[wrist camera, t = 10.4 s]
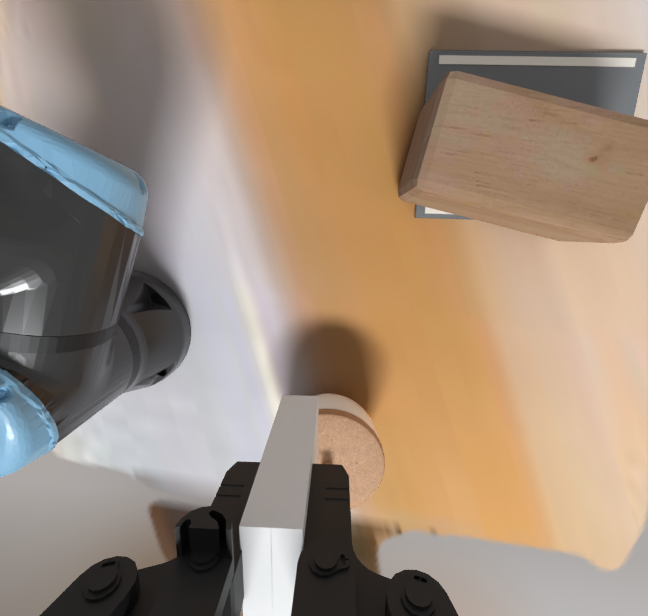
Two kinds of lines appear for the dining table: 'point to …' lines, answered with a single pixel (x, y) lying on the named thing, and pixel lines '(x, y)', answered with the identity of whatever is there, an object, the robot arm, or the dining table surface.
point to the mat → (545, 80)
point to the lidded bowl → (350, 444)
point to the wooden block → (528, 161)
